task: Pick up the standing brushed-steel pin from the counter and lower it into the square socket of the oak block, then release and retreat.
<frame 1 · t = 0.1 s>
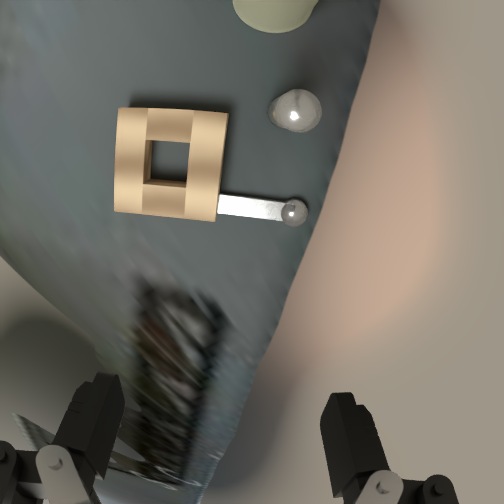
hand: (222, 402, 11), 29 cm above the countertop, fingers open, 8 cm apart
pin: (283, 112, 33), on the countertop
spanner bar: (256, 206, 38), on the countertop
socket block: (171, 159, 35), on the countertop
can: (273, 0, 27), on the countertop
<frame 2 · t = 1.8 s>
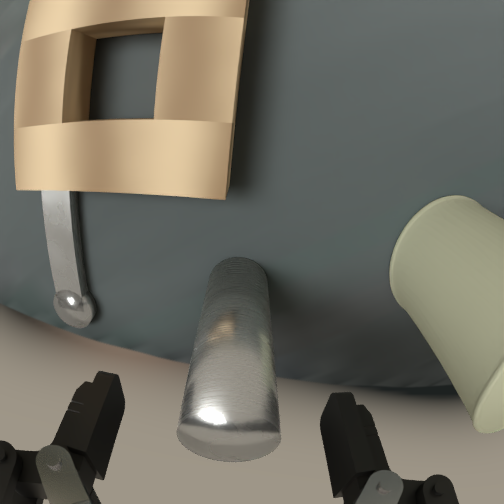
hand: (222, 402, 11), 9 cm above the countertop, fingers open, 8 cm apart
pin: (238, 283, 20), on the countertop
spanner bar: (68, 244, 18), on the countertop
socket block: (130, 75, 14), on the countertop
can: (444, 257, 19), on the countertop
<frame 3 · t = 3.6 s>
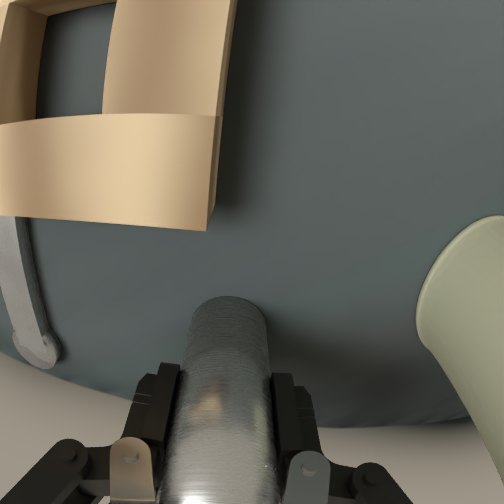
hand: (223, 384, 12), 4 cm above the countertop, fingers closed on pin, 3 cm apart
pin: (228, 327, 15), on the countertop, touching gripper
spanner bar: (22, 274, 14), on the countertop
socket block: (85, 57, 10), on the countertop
can: (477, 288, 15), on the countertop
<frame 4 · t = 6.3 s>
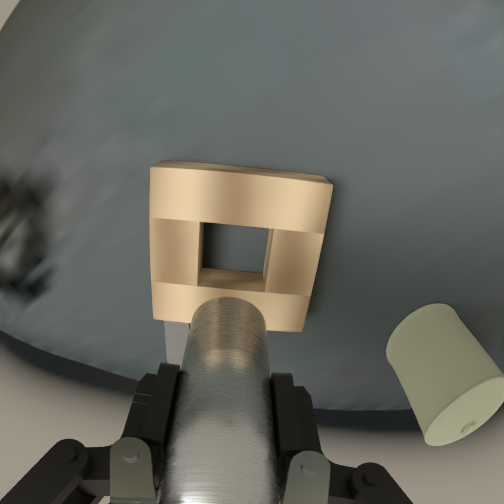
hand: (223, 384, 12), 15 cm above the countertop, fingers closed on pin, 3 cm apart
pin: (228, 328, 15), point 11 cm above the countertop, touching gripper
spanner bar: (179, 339, 29), on the countertop
socket block: (235, 242, 25), on the countertop
can: (422, 337, 30), on the countertop
when the fingers open (5 cm above the countertop, at t = 9.0 s): pin stays where it is, resting in socket block.
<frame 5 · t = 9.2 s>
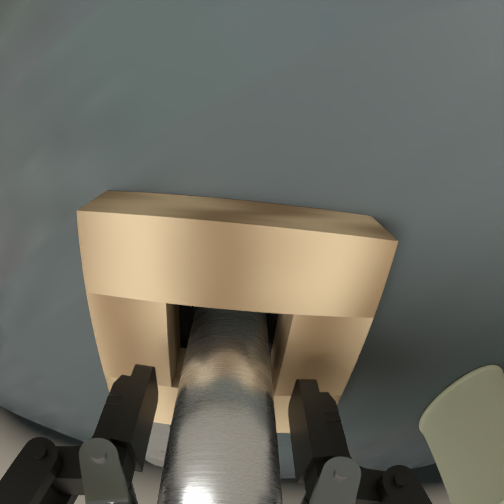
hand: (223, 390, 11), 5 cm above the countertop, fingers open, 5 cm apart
pin: (230, 316, 16), resting in socket block
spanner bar: (158, 421, 20), on the countertop
socket block: (228, 316, 16), on the countertop
can: (461, 400, 21), on the countertop
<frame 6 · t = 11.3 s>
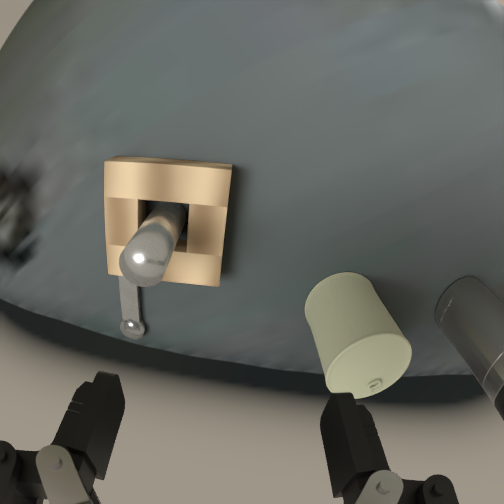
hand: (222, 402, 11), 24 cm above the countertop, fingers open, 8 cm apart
pin: (169, 216, 32), resting in socket block
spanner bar: (131, 295, 36), on the countertop
socket block: (168, 216, 32), on the countertop
can: (340, 303, 38), on the countertop
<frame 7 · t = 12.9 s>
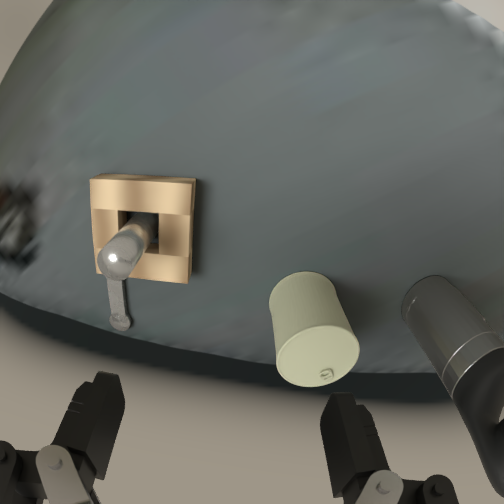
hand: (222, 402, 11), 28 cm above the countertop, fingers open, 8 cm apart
pin: (146, 223, 37), resting in socket block
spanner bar: (118, 292, 41), on the countertop
socket block: (145, 223, 37), on the countertop
can: (302, 300, 43), on the countertop
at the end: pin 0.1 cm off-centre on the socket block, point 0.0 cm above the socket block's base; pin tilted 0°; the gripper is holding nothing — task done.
